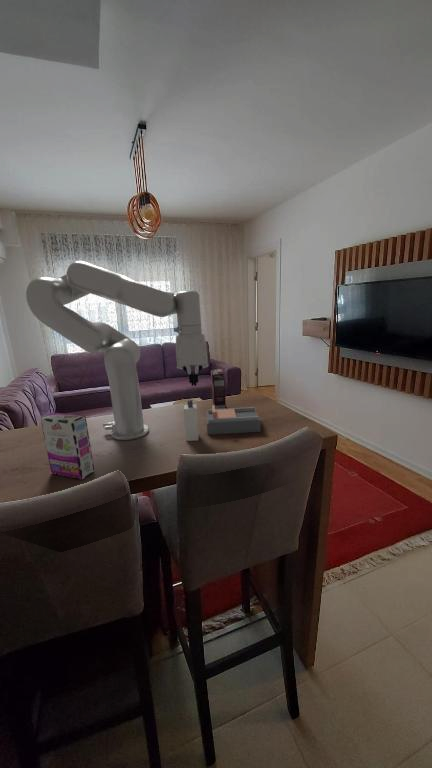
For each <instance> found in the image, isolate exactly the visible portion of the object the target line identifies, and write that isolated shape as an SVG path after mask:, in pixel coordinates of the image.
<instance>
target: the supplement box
mask: <svg viewBox="0 0 432 768" xmlns="http://www.w3.org/2000/svg"><path fill="white" fill-rule="evenodd" d="M210 379H211V395H212V396H211V397H212V405H215V409H227V404H226V403H227V402H226V384H225V383H226V382H225V373H224V372H223V369H222V368H218V369H211V370H210Z"/></svg>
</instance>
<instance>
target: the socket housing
mask: <svg viewBox="0 0 432 768" xmlns="http://www.w3.org/2000/svg"><path fill="white" fill-rule="evenodd" d="M227 409H234V410H235V414H236V417H233V418H215V419H213V416H212V408H210V409H207V412H206V431H207V435H224V434H225V435H228V434H243V433H245V434H246V433H259V432H261V431H262V430H261V429H262V427H261V425H262V424H261V418H260V416H259V415H258V412H257V410H256V407H255V406H250V407H249V406H248V407H232V408H230V407H228V408H227ZM215 410H225V409H215Z"/></svg>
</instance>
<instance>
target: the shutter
mask: <svg viewBox="0 0 432 768" xmlns="http://www.w3.org/2000/svg"><path fill="white" fill-rule="evenodd" d="M211 409H212V416H213V419H215V418H233V417H236V414H235V410H234V409H228V408H226V409H225V410H215V405H213V404H212V405H211Z"/></svg>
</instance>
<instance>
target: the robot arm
mask: <svg viewBox="0 0 432 768" xmlns="http://www.w3.org/2000/svg"><path fill="white" fill-rule="evenodd" d="M90 294H91V295H94V296H97V297H100V298H103V299H105V300H106V299H107V300H109V301H112V302H115V303H117V304H120V305H123V306H126V307H129V308H131V309H134V310H137V311H140V312H144V313H146V314H149V315H152V316H154V317H159V318H164V317H168V316H172V315H175V314H176V319H177V326H176V327H173V333H177V335H175V336H176V337H175V358H176V359H175V360H176V369H178V370H183V371H185V372H186V373H187V374H188V378H189V379H188V380H189V382H188V383H189V384H191V387H193V386H195V387H196V386H197V385H198V384H197V383H199V373H200V372H201V371H202V369H206V368H208V367H209V365H210V364H209V362H208V348H207V342H206V341H207V340H206V338H205V334H204V333H202V318H201V315H202V314H201V301H200V294H199V292H198V291H197V290H182V291H178V292H171V291H170V292H168V291H163V290H160V289H157V288H154V287H153V286H152V287H151V286H148V285H145V284H142V283H141V282H137V281H135V280H133V279H131V278H130V277H128V276H126V275H123V274H121V273H118V272H115V271H113V270H109V269H106V268H103V267H101V266H97V265H94V264H92V263H89V262H87V261H83V260H78V261H73V262H72V263H70V264H69V266H68V267H67V270H66V274H64V275H62V276H60V277H58V278H57V277H47V276H41V277H36V278H34V279H31V281H30V282H29V283H28V285H27V287H26V291H25V295H26V303H27V306H28V308H29V309H30V311H31V313H32V314H33V316H34V317H35V318H36V319H37V320H38V321H40V322H41V323H42V324H44V325H45V326H46V327H48V328H49V329H51V330H53V331H55V332H56V333H57V334H59V335H61V336H62V337H63V338H65V339H67V340H68V341H69V342H71V343H73V344H74V345H76V346H77V347H79V348H81V350H83V351H85V352H88V353H91V354H94V353H99V352H102V353H103V354H104V358H103V359H104V360H103V361H104V368H105V371H106V375H107V378H108V384H109V385H108V386H109V391H110V392H109V393H110V397H111V405H112V411H113V421H112V422H110V421H109V422H103V424H102V427H103V429H104V430H105V431H109V430H110V431H111V438H113V439H114V440H118V441H132V440H135V439H136V440H137V439H139V438H141V437H143V436H145V435H147V434H148V433H149V426H148V425H147V424H145V423H144V417H143V407H142V398H141V391H140V389H141V388H140V382H139V376H138V370H137V363H138V362H139V360H140V357H141V349H140V346H139V345H138V344H137V342H135V341H134V340H132V339H131V338H130V337H128V336H127V335H125V334H124V333H122V332H121V331H118V330H117V329H116V328H114V327H113V326H111V325H109V324H107V323H105V322H103V321H102V322H101V321H90V320H89V319H87V318H85V317H83V316H82V315H80V314H79V313H78V312H76V311H74V310H72V309H71V308H68V307H67V306H65V305H68V304H71V303H72V302H75V301H77V300H79V299H81V298H83V297H85V296H88V295H90ZM192 367H194V371H193V370H192Z"/></svg>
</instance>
